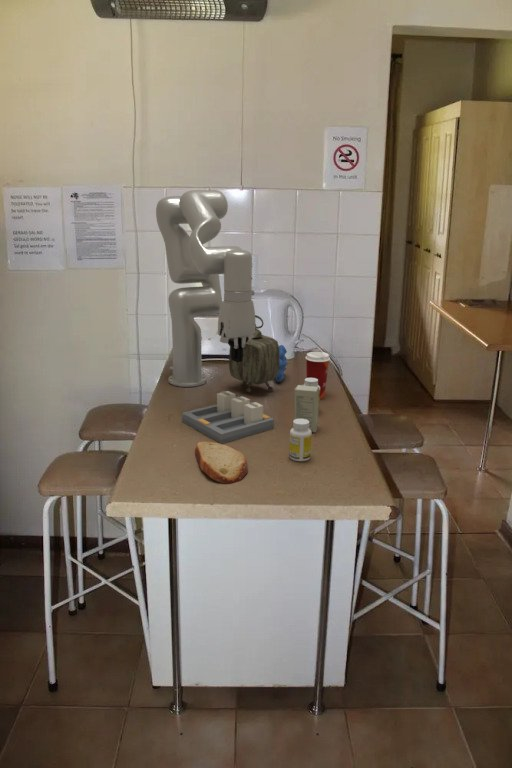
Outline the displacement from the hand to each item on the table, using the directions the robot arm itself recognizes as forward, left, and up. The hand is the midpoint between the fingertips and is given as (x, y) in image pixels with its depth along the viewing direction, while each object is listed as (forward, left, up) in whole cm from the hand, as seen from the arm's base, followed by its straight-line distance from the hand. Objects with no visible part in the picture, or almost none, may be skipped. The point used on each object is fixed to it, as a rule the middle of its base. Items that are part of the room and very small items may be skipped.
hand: (237, 360), depth 187 cm
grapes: (-20, +33, -18) cm, 42 cm away
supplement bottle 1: (+31, -3, -18) cm, 36 cm away
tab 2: (+9, -1, -16) cm, 18 cm away
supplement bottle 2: (+9, +21, -18) cm, 28 cm away
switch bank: (+3, -5, -17) cm, 18 cm away
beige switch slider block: (-3, -1, -16) cm, 16 cm away
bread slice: (+22, -22, -18) cm, 36 cm away
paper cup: (0, +32, -18) cm, 36 cm away
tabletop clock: (-16, +19, -18) cm, 30 cm away
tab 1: (+3, -1, -16) cm, 16 cm away
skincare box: (+18, +11, -18) cm, 27 cm away
